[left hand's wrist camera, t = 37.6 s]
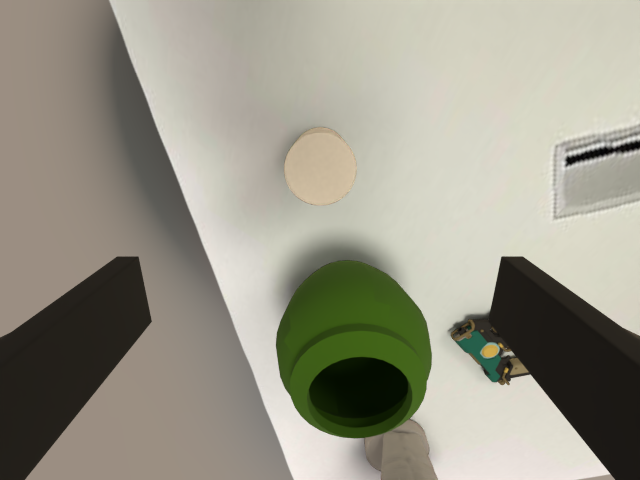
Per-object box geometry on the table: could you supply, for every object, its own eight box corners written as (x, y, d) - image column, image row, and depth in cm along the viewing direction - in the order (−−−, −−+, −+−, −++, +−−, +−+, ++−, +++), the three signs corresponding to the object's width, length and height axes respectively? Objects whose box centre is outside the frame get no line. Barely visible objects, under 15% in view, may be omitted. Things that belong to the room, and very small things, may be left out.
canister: (300, 120, 49) (294, 123, 37) (355, 136, 50) (366, 144, 38) (286, 175, 52) (276, 194, 40) (338, 190, 52) (344, 213, 40)
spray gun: (547, 358, 64) (469, 383, 67) (529, 290, 58) (444, 321, 61) (561, 376, 60) (478, 401, 63) (544, 305, 54) (452, 337, 57)
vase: (380, 215, 54) (425, 292, 31) (415, 314, 60) (473, 438, 37) (268, 257, 56) (233, 356, 33) (312, 348, 63) (308, 483, 40)
